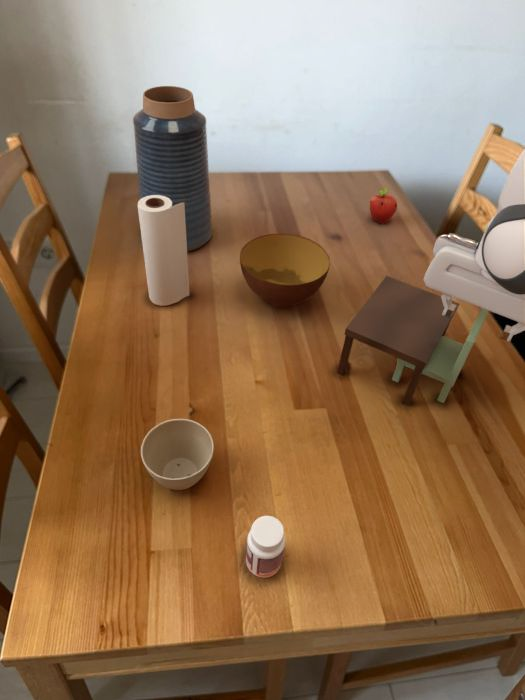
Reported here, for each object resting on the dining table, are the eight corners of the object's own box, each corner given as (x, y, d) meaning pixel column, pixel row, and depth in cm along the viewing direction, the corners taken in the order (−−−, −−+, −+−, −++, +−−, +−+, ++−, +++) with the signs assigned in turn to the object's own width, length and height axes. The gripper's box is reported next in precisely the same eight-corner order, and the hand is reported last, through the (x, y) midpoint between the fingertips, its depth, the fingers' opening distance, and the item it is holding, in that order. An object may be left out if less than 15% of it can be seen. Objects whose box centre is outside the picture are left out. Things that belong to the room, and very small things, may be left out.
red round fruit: (365, 212, 134) (373, 176, 127) (390, 214, 135) (400, 178, 128) (368, 228, 129) (376, 191, 122) (395, 230, 129) (405, 193, 122)
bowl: (225, 284, 109) (225, 243, 102) (296, 265, 116) (301, 226, 109) (262, 335, 99) (266, 294, 92) (339, 311, 105) (347, 271, 98)
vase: (184, 262, 114) (174, 116, 92) (128, 238, 119) (106, 95, 97) (225, 231, 124) (226, 92, 102) (172, 210, 130) (162, 74, 108)
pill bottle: (287, 554, 68) (294, 524, 62) (270, 585, 65) (275, 557, 59) (257, 536, 70) (260, 505, 64) (238, 565, 67) (240, 536, 61)
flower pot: (131, 482, 75) (125, 454, 70) (176, 436, 81) (173, 407, 76) (184, 519, 71) (181, 492, 66) (227, 468, 77) (228, 440, 72)
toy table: (440, 347, 99) (459, 303, 91) (408, 407, 88) (426, 363, 80) (374, 319, 104) (386, 275, 96) (335, 373, 93) (345, 328, 85)
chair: (460, 370, 95) (490, 308, 84) (444, 404, 88) (473, 342, 78) (409, 348, 98) (431, 286, 88) (390, 380, 92) (411, 317, 81)
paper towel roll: (143, 300, 104) (130, 204, 89) (160, 284, 108) (151, 190, 93) (172, 312, 102) (164, 216, 87) (189, 296, 106) (184, 201, 91)
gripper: (432, 238, 74) (407, 311, 83) (583, 291, 67) (536, 364, 77) (446, 220, 78) (420, 292, 87) (589, 268, 71) (544, 340, 80)
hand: (475, 326), depth 82 cm, fingers open, 8 cm apart
